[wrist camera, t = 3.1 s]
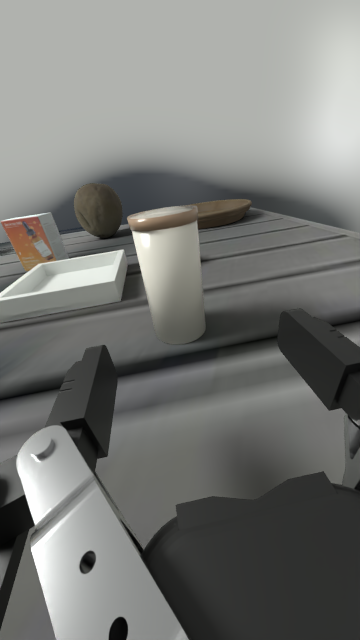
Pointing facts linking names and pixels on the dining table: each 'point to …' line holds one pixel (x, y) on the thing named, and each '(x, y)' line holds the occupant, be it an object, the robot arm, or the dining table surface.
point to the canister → (171, 271)
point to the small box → (35, 239)
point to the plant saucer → (221, 212)
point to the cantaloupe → (98, 209)
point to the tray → (65, 286)
